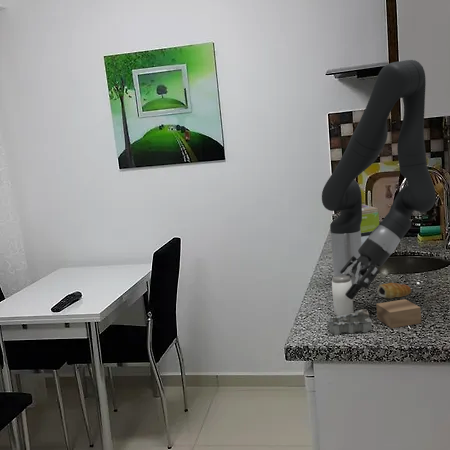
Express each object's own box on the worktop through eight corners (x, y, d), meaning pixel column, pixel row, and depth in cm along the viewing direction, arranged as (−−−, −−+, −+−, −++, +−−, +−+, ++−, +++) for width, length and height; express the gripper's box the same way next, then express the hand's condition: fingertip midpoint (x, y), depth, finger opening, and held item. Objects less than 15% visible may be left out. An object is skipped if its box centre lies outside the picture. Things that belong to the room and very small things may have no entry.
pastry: (403, 290, 175) (403, 277, 174) (416, 295, 168) (415, 282, 168) (375, 295, 173) (374, 282, 172) (387, 301, 166) (386, 288, 166)
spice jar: (331, 312, 161) (328, 276, 159) (349, 309, 162) (346, 274, 160) (338, 317, 156) (335, 280, 154) (356, 314, 157) (354, 277, 155)
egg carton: (370, 323, 150) (369, 308, 149) (373, 334, 142) (372, 317, 142) (327, 325, 151) (326, 310, 151) (328, 336, 144) (327, 320, 143)
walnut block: (377, 318, 152) (376, 303, 151) (406, 313, 153) (405, 299, 152) (391, 328, 144) (390, 312, 143) (421, 323, 145) (420, 307, 145)
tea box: (344, 240, 256) (342, 206, 253) (366, 237, 257) (364, 203, 255) (358, 245, 241) (356, 210, 239) (381, 242, 243) (379, 207, 240)
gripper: (358, 233, 164) (323, 279, 164) (380, 241, 150) (341, 291, 150) (377, 249, 165) (342, 295, 165) (401, 259, 151) (362, 308, 151)
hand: (342, 293), depth 158 cm, fingers open, 8 cm apart
